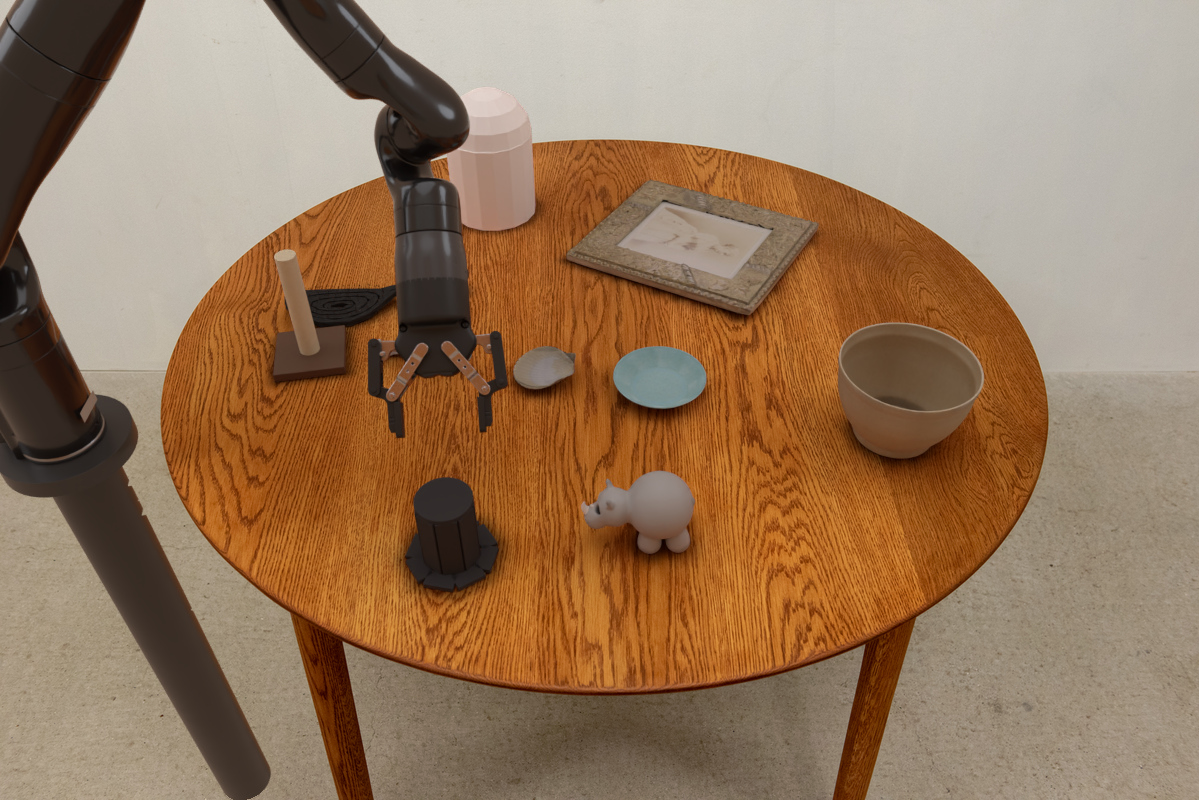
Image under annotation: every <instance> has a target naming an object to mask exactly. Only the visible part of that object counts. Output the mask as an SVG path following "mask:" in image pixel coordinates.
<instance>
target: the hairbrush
mask: <svg viewBox="0 0 1199 800" xmlns="http://www.w3.org/2000/svg"><path fill="white" fill-rule="evenodd" d="M353 286H354V287H353V288H350V284H348V288H340V287H337V288H334V285H331V287H332V288H329V287H330V285H326V286H325V287H326V288H322V285H320V287H319V286H316V285H315V286H314V288H315V289H312V287H308V288H307V289H305V291H306V295H307V299H308V303H309V306H310V310H311V314H312V318H313V322H314V326H316V327H318V328H324V327H333V326H342V325H345V327H352V326H354V325H357V324H359V323H362V322H364V321H367V320H369V319H371V318H372V317H373V316H374V315H375V314H377V313H378V312H379V311H380V310H382V309H383V308H384V307H386V306H387V305H388V304H389V303H390V302H391V301H392V300H394V299H395V298H396V284H391V285H387V286H384V287H380V285H378V284H376V285H375V284H374V285H373V288H371V287H370V283H368V284H367V286H368V287H363V288H362V287H361V284H358V288H355V287H356V284H354V285H353ZM327 287H328V288H327ZM342 287H345V285H344V284H343V285H342ZM317 288H318V289H317ZM320 288H321V289H320ZM283 299H284V307H285V310H286V311H288V312H289V310H288V306H287V302H286V299H285V295H284V297H283Z"/></svg>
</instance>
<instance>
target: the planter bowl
mask: <svg viewBox="0 0 1199 800" xmlns="http://www.w3.org/2000/svg"><path fill="white" fill-rule="evenodd" d="M837 361H838V362H837V364H838V368H837V369H838V370H837V391H838V396H839V401H840V404H841V407H842V409H843V412H844V414H845V416H846V419H847V420H848V422H849V423H850V425H851V428H852V431H853V434H854V436H855V438H856V439H857V441H858V442H859V443H860V444H861V445H862V446H864V447H865V448H866V449H867V450H869V451H871V452H873V453H874V454H877V455H880V456H882V457H886V458H891V459H912V458H915V457H918V456H920V455H922V454H924V453H925V452H927V451H928V450H929V449H930V448H931V447H932V446H934V445H936V444H938V443H940V442H941V441H943V440H945V439H946V438H947V437H949V436H950V435H951V434H952V433H953V432H955V431H956V429H958V427H959V426H961V424H962V423H963V422H964V421H965V419H966V418H967V416H968V415H969V414H970V412H971V409H972V408H973V406H974V404H975V402H976V400H977V399H978V398H979V395H980V394H981V392H982V390H983V387H984V384H985V374H984V369H983V366H982V363H981V362H980V360H979V358H978V357H977V355H976V354H975V353H974V352H973V351H972V350H971V349H970V348H969V347H968V346H967V345H966V344H964V343H963V342H962V341H960V340H959V339H957V338H955V337H953V336H952V335H950V334H948V333H945V332H943V331H941V330H939V329H936V328H933V327H929V326H927V325H922V324H917V323H911V322H910V323H909V322H881V323H876V324H871V325H867V326H865V327H862V328H859V329H857V330H855V331H854V332H852V333H851V334H850V335H849V336H847V337H846V339H844V341H843V343H842V345H841V346H840V349H839V352H838V360H837Z"/></svg>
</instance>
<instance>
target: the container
mask: <svg viewBox="0 0 1199 800" xmlns="http://www.w3.org/2000/svg"><path fill="white" fill-rule="evenodd" d="M460 98H461V99H462V101H463V103H464V105H465V107H466V109H467V112H468V115H469V120H470V131H469V135H468V138H467V140H466V141H465V143H464V144H463V145H462V146H461V147H460V148H458V149H457V150H455V151H453V152H450V153H448V154H446V160H447V167H448V176H449V182H451V183H453V184H454V185H455V186H456V188H457V190H458V193H459V197H460V205H461V219H462V225H464V226H466V227H467V228H469V229H474V230H477V231H483V232H484V231H485V232H486V231H487V232H488V231H489V232H492V231H493V232H496V231H497V232H499V231H504V230H509V229H514V228H516V227H519V226H521V225H523V224H525V223H527V222H528V221H529V220H530V219H531V218H532V217H533V216H534V215H535V212H536V191H535V190H536V188H535V170H534V154H533V135H532V134H533V133H532V126H531V120H530V117H529V113H528V112H527V111H526V109H525V108H524V106H522V104H521V103H520V102H519V100H518V99H517V98H516V96H514V94H512V93H508V92H507V91H504V90H502V89H500V88H497V87H493V86H480V87H476V88H472V89H471V90H469V91H467V92H466V93H464V94H462V95H461V96H460Z"/></svg>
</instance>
